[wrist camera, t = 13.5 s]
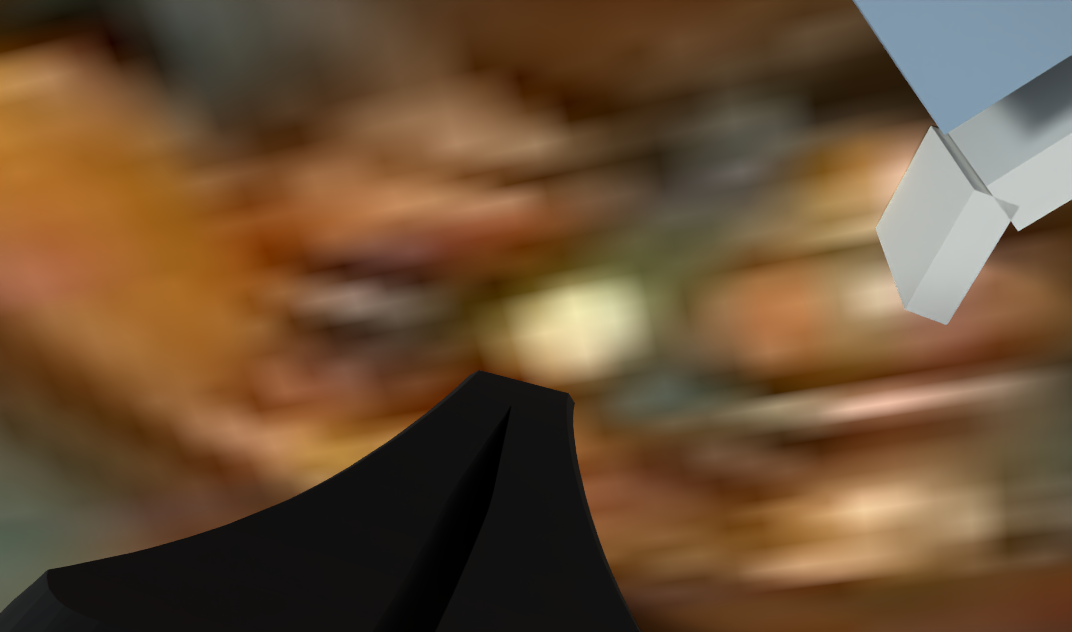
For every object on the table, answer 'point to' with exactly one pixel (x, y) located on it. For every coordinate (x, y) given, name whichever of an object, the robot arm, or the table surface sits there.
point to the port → (978, 191)
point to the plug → (969, 48)
